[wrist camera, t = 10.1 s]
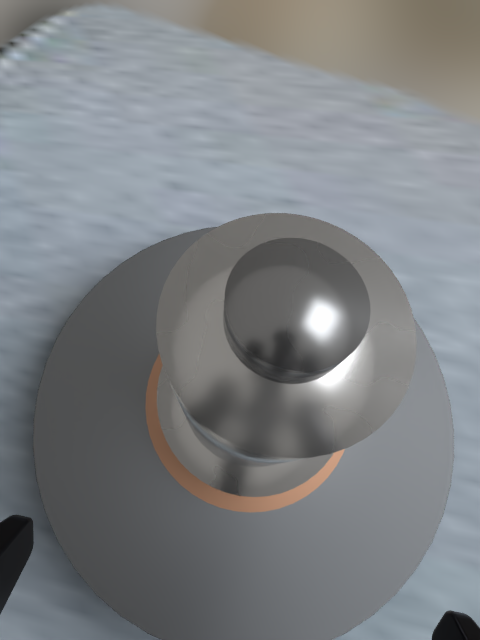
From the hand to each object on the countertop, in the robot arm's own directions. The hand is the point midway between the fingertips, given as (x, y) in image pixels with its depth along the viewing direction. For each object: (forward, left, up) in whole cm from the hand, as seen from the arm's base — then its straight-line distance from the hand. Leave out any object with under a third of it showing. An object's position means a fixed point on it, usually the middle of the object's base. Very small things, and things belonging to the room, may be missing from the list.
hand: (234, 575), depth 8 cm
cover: (+4, +3, -7) cm, 9 cm away
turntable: (+4, +4, -8) cm, 10 cm away
